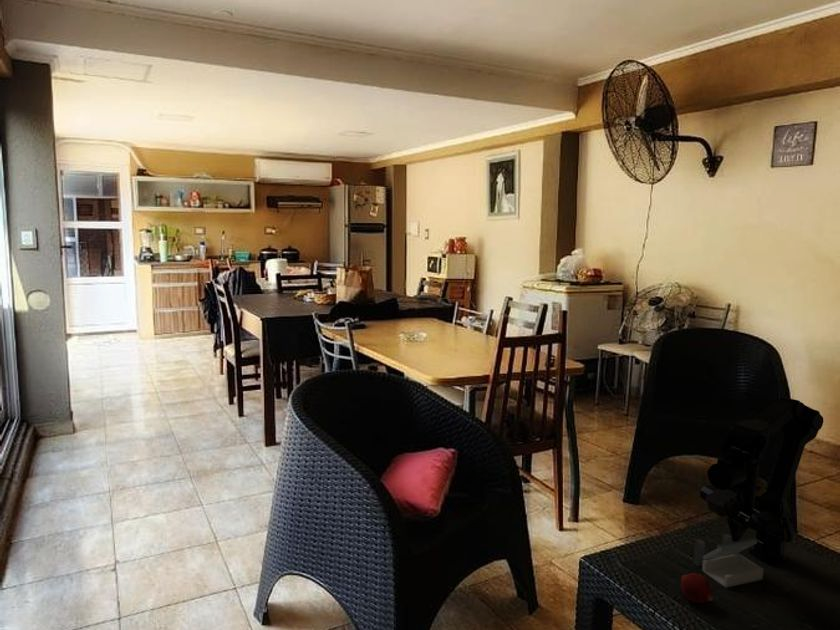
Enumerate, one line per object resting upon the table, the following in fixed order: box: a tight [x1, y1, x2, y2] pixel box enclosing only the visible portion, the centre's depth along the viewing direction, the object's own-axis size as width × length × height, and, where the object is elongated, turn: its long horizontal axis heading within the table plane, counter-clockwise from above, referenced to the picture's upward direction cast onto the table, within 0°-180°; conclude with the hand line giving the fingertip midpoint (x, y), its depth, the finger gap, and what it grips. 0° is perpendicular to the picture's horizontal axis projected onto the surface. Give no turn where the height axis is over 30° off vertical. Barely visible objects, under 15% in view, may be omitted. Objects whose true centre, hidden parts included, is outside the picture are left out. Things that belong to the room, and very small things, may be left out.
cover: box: [703, 537, 757, 561], centre depth 144 cm, size 11×7×1 cm
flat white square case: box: [692, 533, 765, 588], centre depth 144 cm, size 11×10×6 cm
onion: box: [680, 572, 714, 604], centre depth 133 cm, size 6×6×8 cm
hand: (735, 541), depth 142 cm, fingers closed, pressing on cover
